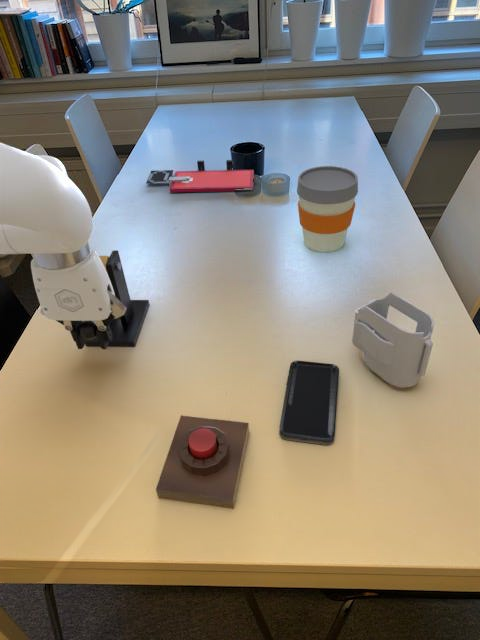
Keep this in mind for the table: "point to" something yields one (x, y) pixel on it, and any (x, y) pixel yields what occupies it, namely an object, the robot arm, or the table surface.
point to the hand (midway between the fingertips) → (94, 342)
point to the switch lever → (89, 327)
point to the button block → (204, 464)
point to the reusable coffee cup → (326, 206)
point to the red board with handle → (204, 179)
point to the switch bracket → (136, 310)
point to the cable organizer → (393, 341)
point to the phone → (310, 403)
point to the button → (202, 443)
